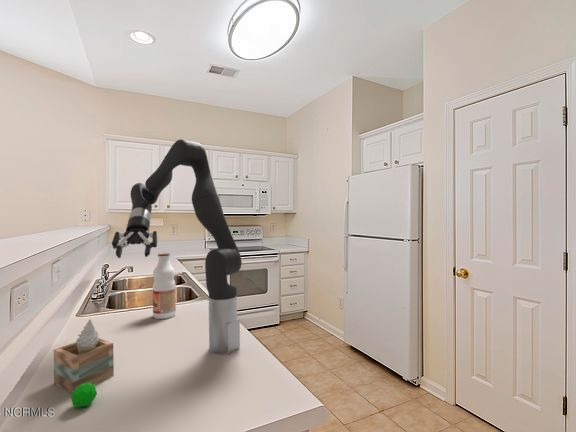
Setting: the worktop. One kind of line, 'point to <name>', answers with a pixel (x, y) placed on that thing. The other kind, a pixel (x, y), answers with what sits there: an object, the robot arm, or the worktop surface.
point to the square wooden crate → (82, 365)
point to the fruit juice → (164, 288)
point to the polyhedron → (83, 395)
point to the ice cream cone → (87, 338)
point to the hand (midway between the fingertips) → (132, 255)
